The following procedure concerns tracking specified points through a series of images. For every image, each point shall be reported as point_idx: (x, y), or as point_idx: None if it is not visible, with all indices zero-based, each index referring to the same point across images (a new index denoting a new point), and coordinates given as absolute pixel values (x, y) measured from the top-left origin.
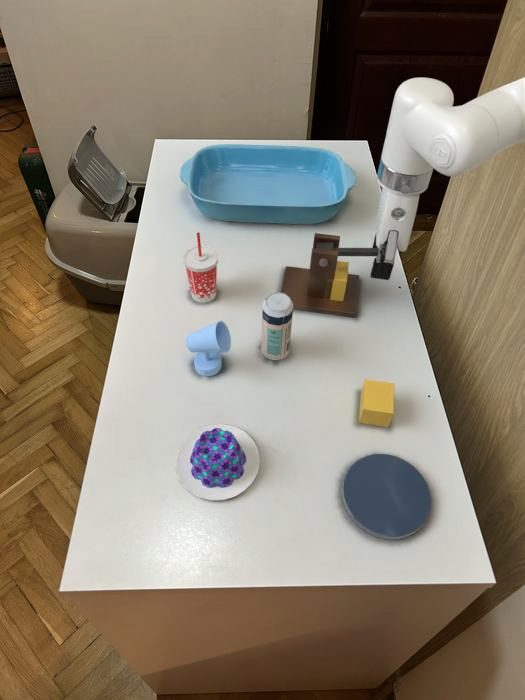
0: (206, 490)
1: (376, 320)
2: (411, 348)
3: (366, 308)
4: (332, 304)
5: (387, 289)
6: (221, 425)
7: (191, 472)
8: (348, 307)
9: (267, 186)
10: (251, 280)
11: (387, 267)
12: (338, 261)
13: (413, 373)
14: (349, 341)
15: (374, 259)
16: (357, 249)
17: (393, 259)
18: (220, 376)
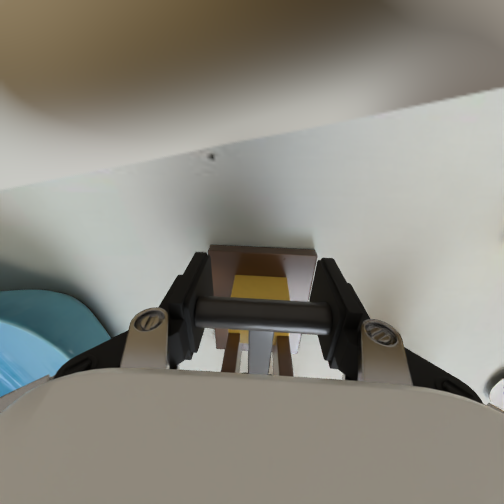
0: None
1: (321, 211)
2: (413, 131)
3: (288, 229)
4: (295, 292)
5: (225, 186)
6: (494, 387)
7: None
8: (301, 268)
9: (49, 370)
10: (247, 370)
11: (367, 319)
12: (230, 329)
13: (493, 129)
14: (373, 258)
15: (336, 366)
16: (256, 373)
17: (402, 354)
18: None
